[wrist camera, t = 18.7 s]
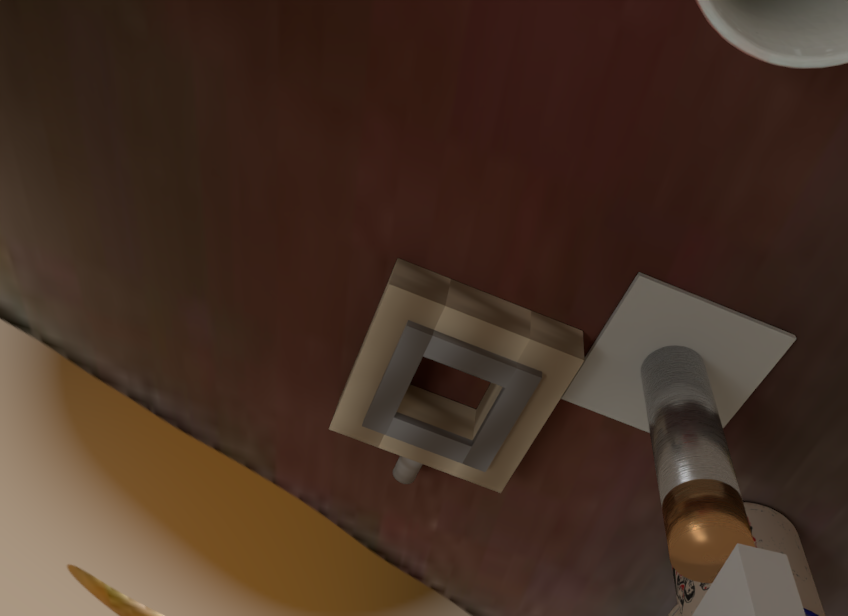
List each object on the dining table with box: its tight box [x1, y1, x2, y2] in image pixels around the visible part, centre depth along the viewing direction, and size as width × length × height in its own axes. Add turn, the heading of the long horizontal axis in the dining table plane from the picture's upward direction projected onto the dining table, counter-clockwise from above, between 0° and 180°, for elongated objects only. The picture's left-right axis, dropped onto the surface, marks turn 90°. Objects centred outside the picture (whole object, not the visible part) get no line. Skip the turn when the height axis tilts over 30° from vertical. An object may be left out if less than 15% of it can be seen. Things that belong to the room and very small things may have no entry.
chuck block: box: [329, 258, 585, 493], centre depth 50 cm, size 12×15×4 cm
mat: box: [561, 272, 796, 433], centre depth 48 cm, size 10×10×1 cm
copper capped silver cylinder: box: [640, 345, 755, 583], centre depth 42 cm, size 4×4×14 cm
